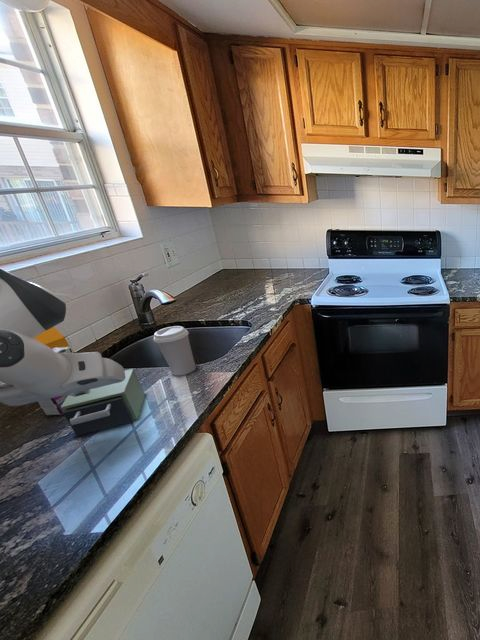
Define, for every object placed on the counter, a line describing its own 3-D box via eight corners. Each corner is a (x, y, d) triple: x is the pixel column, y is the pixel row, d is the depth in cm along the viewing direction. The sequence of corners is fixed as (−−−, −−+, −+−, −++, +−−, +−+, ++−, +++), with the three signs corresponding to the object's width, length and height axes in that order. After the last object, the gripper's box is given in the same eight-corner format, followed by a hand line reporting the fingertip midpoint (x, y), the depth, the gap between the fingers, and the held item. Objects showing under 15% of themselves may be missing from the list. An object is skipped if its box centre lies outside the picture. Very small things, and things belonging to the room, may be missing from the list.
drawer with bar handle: (129, 431, 94) (117, 408, 91) (70, 447, 89) (56, 423, 86) (140, 396, 109) (130, 376, 106) (90, 409, 104) (78, 387, 100)
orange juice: (36, 387, 117) (2, 330, 108) (67, 373, 125) (37, 319, 116) (55, 389, 116) (22, 332, 107) (85, 375, 123) (56, 320, 115)
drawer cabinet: (137, 419, 100) (124, 391, 96) (77, 436, 94) (60, 407, 91) (145, 394, 112) (133, 368, 108) (91, 407, 106) (77, 381, 102)
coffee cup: (188, 362, 130) (173, 323, 124) (207, 366, 127) (193, 326, 121) (161, 375, 122) (143, 335, 115) (181, 379, 119) (164, 338, 112)
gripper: (-22, 404, 72) (24, 418, 84) (111, 375, 81) (135, 391, 93) (-23, 375, 73) (22, 393, 85) (107, 349, 83) (131, 368, 95)
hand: (82, 392), depth 89 cm, fingers closed
